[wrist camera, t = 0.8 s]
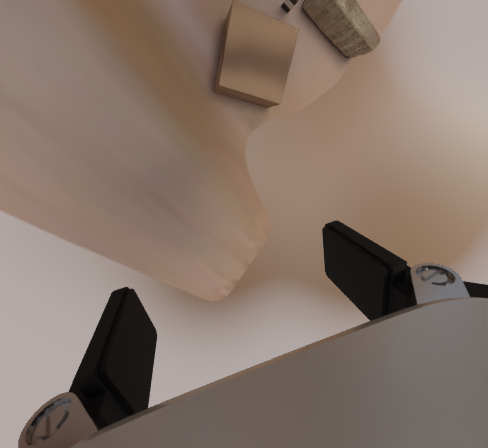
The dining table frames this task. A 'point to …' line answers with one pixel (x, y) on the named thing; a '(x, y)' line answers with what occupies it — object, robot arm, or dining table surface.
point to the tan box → (255, 56)
